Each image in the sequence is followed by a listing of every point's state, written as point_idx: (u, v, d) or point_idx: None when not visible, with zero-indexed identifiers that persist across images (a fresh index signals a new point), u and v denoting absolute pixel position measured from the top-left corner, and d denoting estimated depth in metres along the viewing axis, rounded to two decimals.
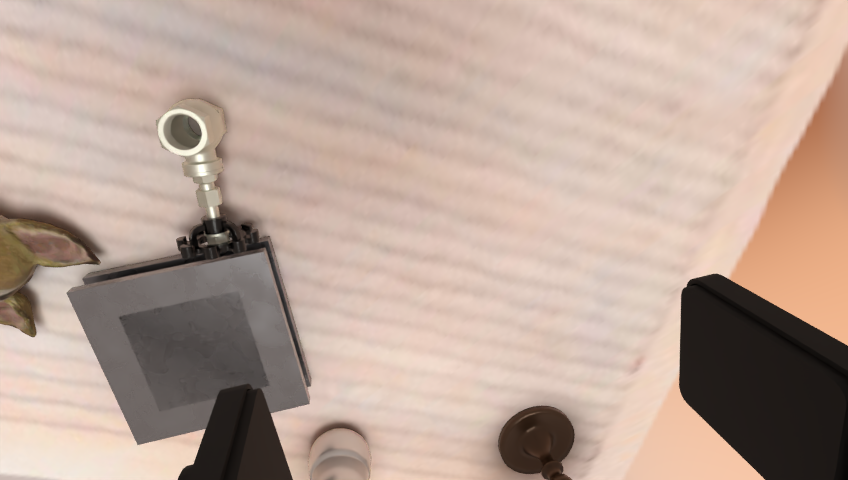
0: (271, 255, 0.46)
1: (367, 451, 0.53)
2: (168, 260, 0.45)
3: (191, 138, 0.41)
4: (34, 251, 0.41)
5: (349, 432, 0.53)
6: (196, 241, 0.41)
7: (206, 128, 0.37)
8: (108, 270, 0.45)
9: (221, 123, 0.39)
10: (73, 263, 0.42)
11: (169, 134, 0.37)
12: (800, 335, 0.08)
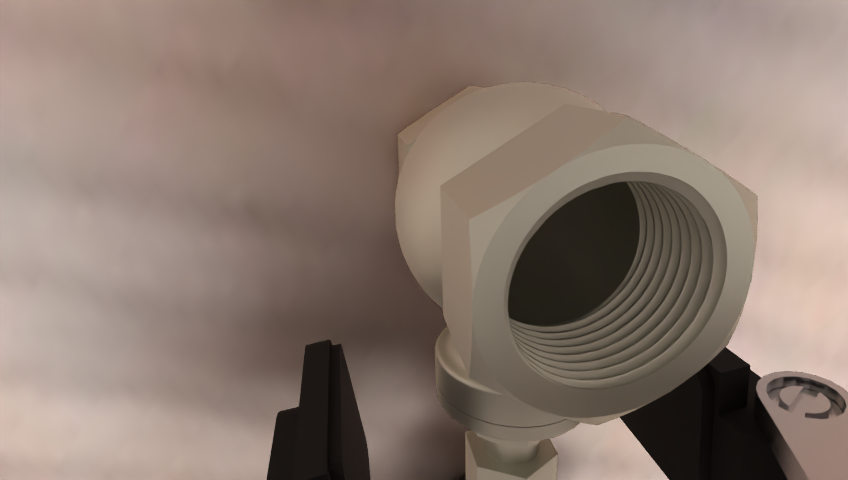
0: None
1: None
2: None
3: None
4: None
5: None
6: None
7: None
8: None
9: None
10: None
11: None
12: None
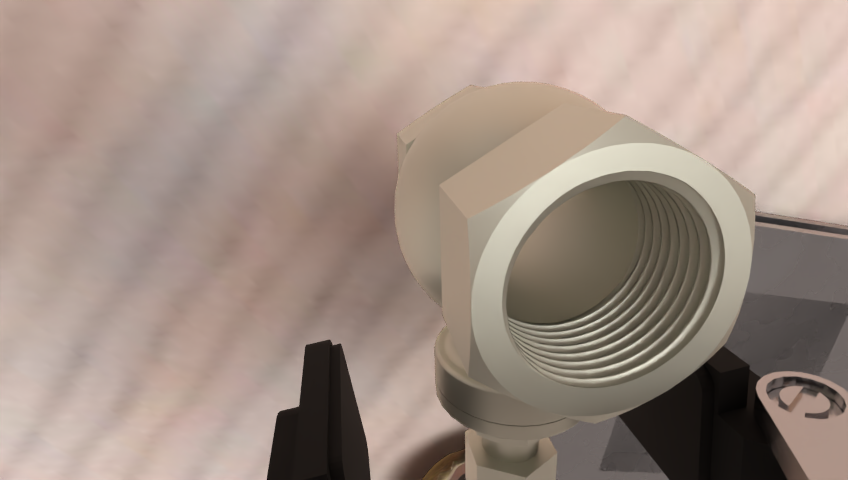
0: None
1: None
2: None
3: None
4: None
5: None
6: None
7: None
8: None
9: None
10: None
11: None
12: None
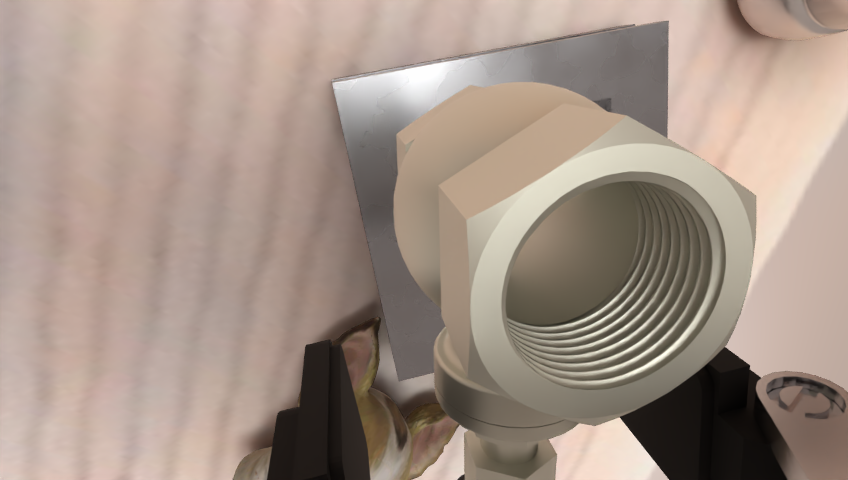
0: (361, 76, 0.25)
1: None
2: None
3: None
4: None
5: None
6: None
7: None
8: None
9: None
10: (374, 349, 0.29)
11: None
12: None
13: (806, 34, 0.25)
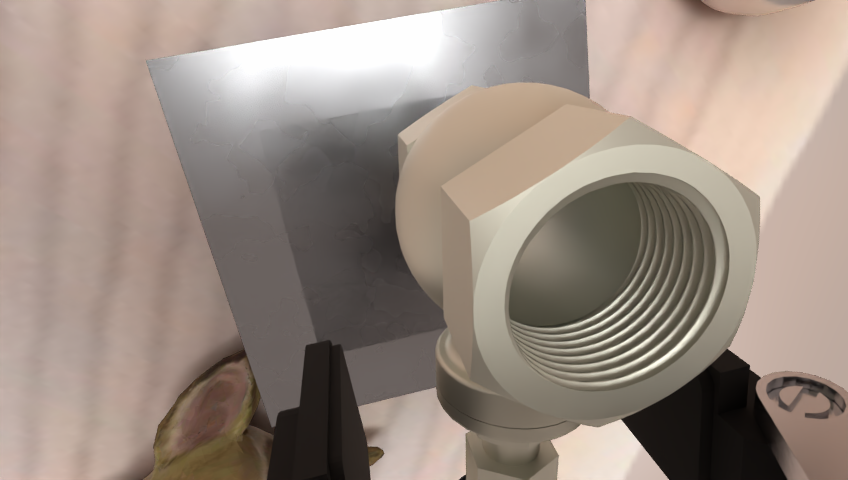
0: None
1: None
2: None
3: None
4: (216, 434, 0.24)
5: None
6: None
7: None
8: None
9: None
10: (250, 384, 0.24)
11: None
12: None
13: (763, 6, 0.20)
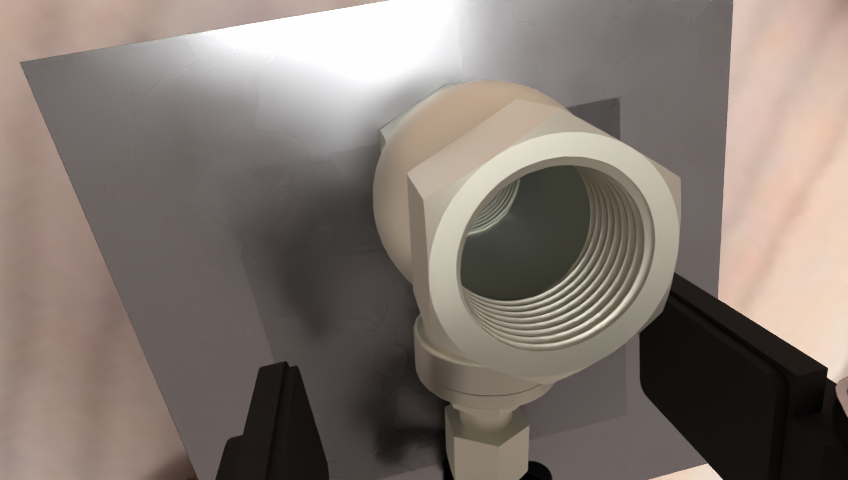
0: None
1: None
2: None
3: None
4: None
5: None
6: None
7: None
8: None
9: None
10: None
11: None
12: (740, 330, 0.09)
13: None
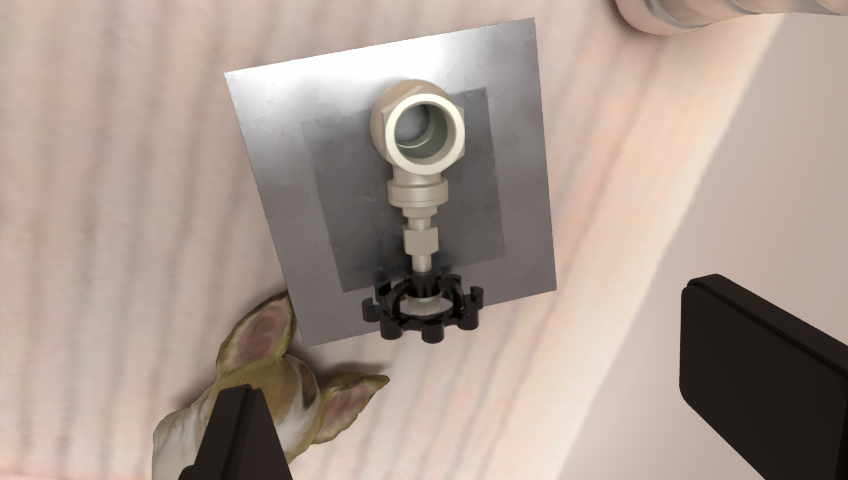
0: None
1: None
2: None
3: None
4: (263, 355, 0.31)
5: None
6: (399, 309, 0.26)
7: None
8: None
9: None
10: (289, 318, 0.31)
11: None
12: (800, 335, 0.08)
13: (669, 30, 0.28)
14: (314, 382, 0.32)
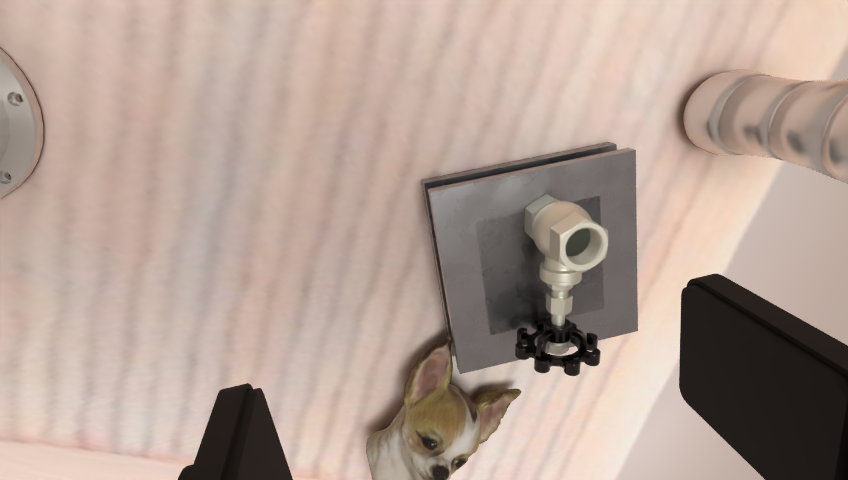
0: (442, 180, 0.39)
1: (727, 75, 0.38)
2: (440, 282, 0.43)
3: None
4: (435, 387, 0.44)
5: (693, 97, 0.40)
6: (544, 351, 0.38)
7: None
8: (447, 333, 0.45)
9: None
10: (449, 358, 0.44)
11: None
12: (800, 335, 0.08)
13: (725, 154, 0.40)
14: (471, 401, 0.45)
